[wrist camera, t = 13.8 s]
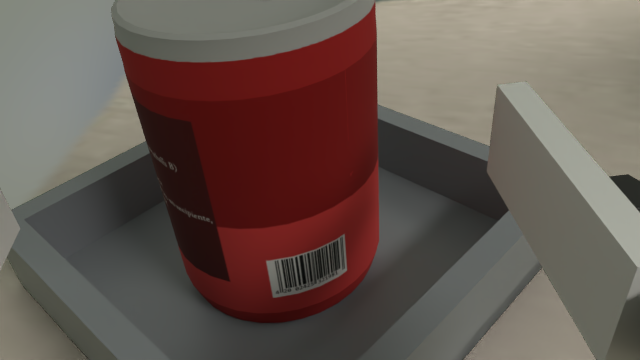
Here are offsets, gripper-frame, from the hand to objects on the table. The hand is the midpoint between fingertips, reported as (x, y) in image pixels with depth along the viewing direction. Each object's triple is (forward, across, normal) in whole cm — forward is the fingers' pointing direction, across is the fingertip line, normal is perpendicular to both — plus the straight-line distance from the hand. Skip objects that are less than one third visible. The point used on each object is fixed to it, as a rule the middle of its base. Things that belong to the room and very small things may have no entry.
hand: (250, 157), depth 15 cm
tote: (+5, 0, -9) cm, 10 cm away
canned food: (+5, 0, -8) cm, 9 cm away
